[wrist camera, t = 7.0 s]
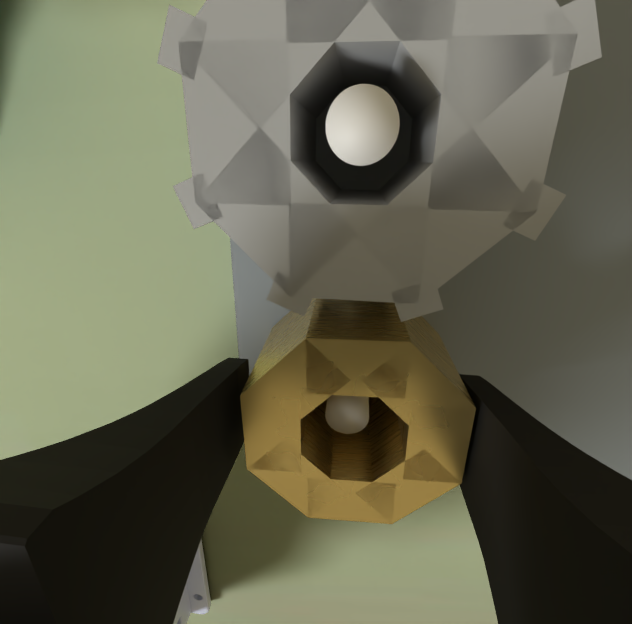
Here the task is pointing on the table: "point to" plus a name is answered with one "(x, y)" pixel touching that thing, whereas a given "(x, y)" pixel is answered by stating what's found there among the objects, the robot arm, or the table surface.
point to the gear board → (541, 281)
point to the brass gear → (384, 412)
